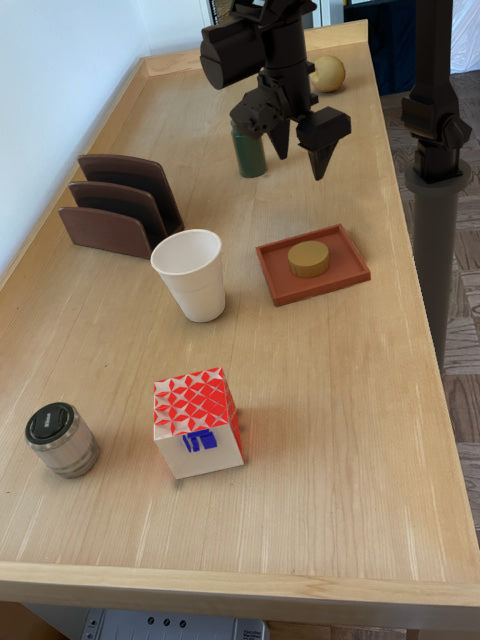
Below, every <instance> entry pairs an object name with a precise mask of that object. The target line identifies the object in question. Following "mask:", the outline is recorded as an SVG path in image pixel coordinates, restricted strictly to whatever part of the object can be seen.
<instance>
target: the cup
mask: <svg viewBox="0 0 480 640" xmlns="http://www.w3.org/2000/svg"><path fill="white" fill-rule="evenodd" d="M222 248H223V241H222V239H221V237H220V236H219V235H218V234H217V233H216V232H213V231H211V230H209V229H203V228H202V229H201V228H199V229H198V228H193V229H187V230H182V231H181V232H179V233H176V234H174V235H172V236H170V237H168V238H166V239H165V240H163V241H162V242H161V243H160V244H159V245H158V246H157V247H156V248H155V249H154V251H153V252H152V255H151V259H150V265H151V267H152V268H153V269H154V270H155V271H156V272H157V273H158V275H159V277H160V278H161V279H162V280H163V282H164V284H165V285H166V288H167V289H168V290H169V292H170V293H171V295H172V297H173V298H174V300H175V301H176V302H177V305H178V306H179V307H180V309H181V310H182V312H183V314H184V315H185V317H186V318H187V319H188V320H189V321H192V322H195V323H207V322H211V321H213V320H215V319H217V318H218V317H219V316H220V315H221V314H222V313H223V312H224V310H225V309H226V295H225V283H224V282H225V281H224V272H223V259H222Z"/></svg>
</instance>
